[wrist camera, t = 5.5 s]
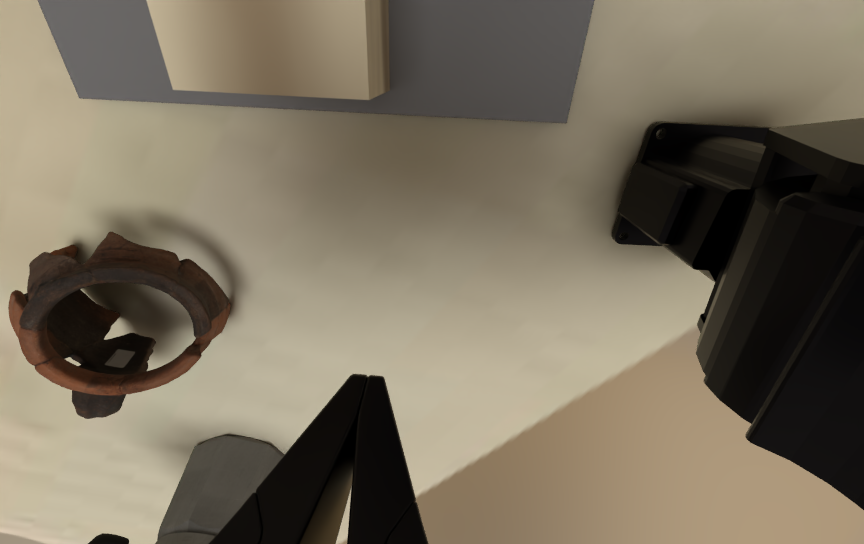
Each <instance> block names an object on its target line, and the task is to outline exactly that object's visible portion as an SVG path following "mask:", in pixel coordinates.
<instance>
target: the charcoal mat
mask: <svg viewBox="0 0 864 544" xmlns="http://www.w3.org/2000/svg"><path fill="white" fill-rule="evenodd" d="M38 2H39V5H40V7H41V9H42V12H43V14H44V16H45V19H46V21H47V23H48V26H49V28H50V30H51V33H52V35H53V38H54V40H55V42H56V45H57V47H58V49H59V52H60V54H61V56H62V59H63V61H64V63H65V66H66V68H67V70H68V73H69V75H70V77H71V80H72V82H73V84H74V87H75V89H76V92H77V94H78V96H79V98H83V99H102V100H122V101H141V102H161V103H180V104H200V105H220V106H239V107H259V108H278V109H298V110H317V111H337V112H356V113H376V114H395V115H415V116H435V117H454V118H474V119H493V120H513V121H532V122H552V123H567V119H568V114H569V110H570V106H571V101H572V97H573V92H574V88H575V84H576V79H577V75H578V70H579V66H580V62H581V57H582V53H583V48H584V44H585V40H586V35H587V31H588V26H589V22H590V18H591V13H592V9H593V5H594V0H389V69H390V91H388V92H386V93H383V94H381V95H379V96H377V97H375V98H373V99H370V100H358V99H338V98H319V97H300V96H281V95H262V94H242V93H223V92H204V91H185V90H173V88H172V85H171V82H170V78H169V75H168V71H167V68H166V65H165V61H164V58H163V55H162V51H161V48H160V45H159V41H158V38H157V35H156V31H155V28H154V25H153V21H152V18H151V15H150V11H149V8H148V5H147V1H146V0H38Z"/></svg>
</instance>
